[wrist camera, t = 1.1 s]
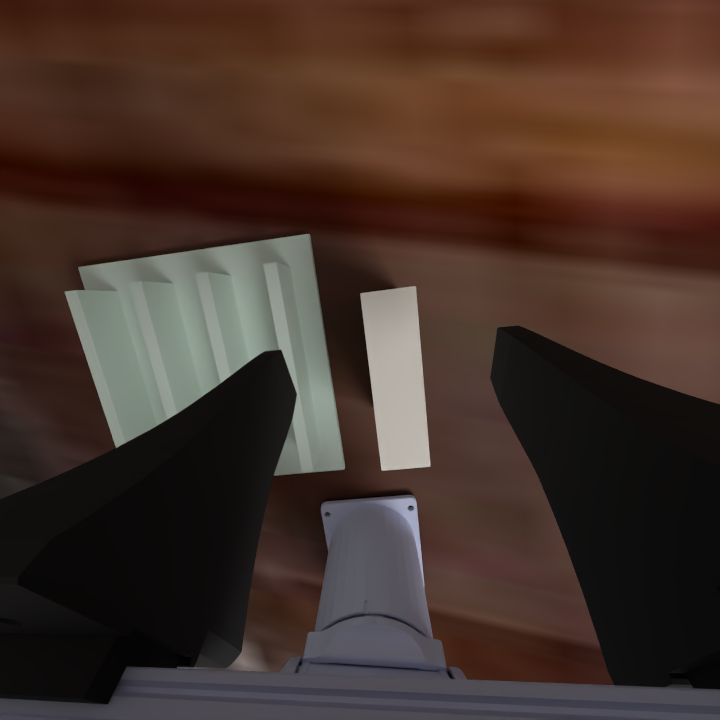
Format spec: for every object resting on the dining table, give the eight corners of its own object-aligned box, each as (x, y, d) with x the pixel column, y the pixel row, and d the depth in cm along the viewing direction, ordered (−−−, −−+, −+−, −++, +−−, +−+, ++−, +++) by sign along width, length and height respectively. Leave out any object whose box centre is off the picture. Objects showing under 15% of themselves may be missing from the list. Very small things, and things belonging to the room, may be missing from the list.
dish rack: (345, 465, 24) (340, 494, 20) (151, 483, 25) (116, 512, 21) (310, 235, 20) (297, 222, 16) (84, 268, 21) (28, 262, 18)
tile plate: (409, 407, 22) (430, 466, 15) (378, 410, 23) (381, 470, 15) (398, 290, 21) (415, 286, 13) (364, 295, 21) (360, 293, 13)
